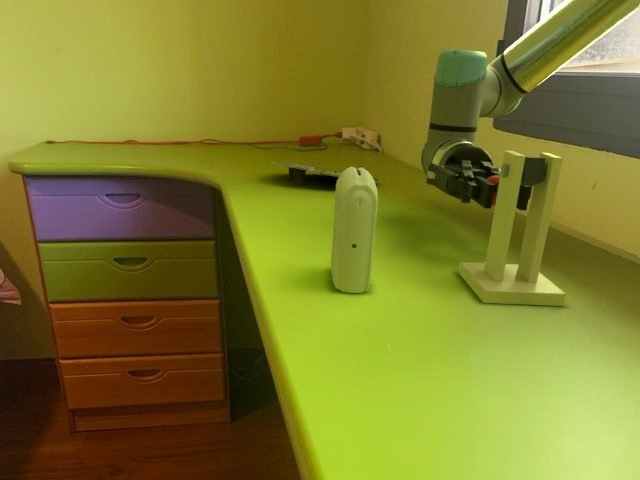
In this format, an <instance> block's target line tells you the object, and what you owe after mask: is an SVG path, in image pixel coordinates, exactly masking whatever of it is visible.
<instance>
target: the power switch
mask: <svg viewBox="0 0 640 480" xmlns="http://www.w3.org/2000/svg"><path fill="white" fill-rule="evenodd" d="M525 157H526V155H524V154H522V153H518V152H517V151H514V150H504V151H503V157H502V164H501V168H500V170H501V174H500V180H499V186H498V192H497V198H496V204H495V206H494V211H493V214H492V215H493V216H492V222H491V228H490V234H489V240H488V246H487V251H486V257H485V262H470V261H469V262H468V261H467V262H466V261H460V263H459V267H458V274H459V276H461V278H462V279H463V280H464V282H466V284H467V285H468V286H469V287H470V289H471V290H472V291H473V292H474V294H475V295H476V296H477V297H478V298H479V299H480V301H481V302H482V303H483V304H501V305H502V304H504V305H525V306H547V307H548V306H549V307H551V306H552V307H556V306H557V307H563V306H564V304H565V300H566V296H567V295H566V292H564V291H563V290H562V289H561V288H559V287H558V286H557V285H556V284H554V283H553V282H552V281H551V280H549V279H548V278H547V277H546V276H544V275H543V274H542V273H541V272H540V270H541V265H542V259H543V255H544V250H545V246H546V240H547V235H548V230H549V227H550V221H551V216H552V212H553V207H554V202H555V198H556V192H557V188H558V182H559V178H560V173H561V170H562V169H561V168H562V164H563V159H564V158H563V157H561V156H558V155H555V154H552V153H550V152H539V156H538V158H545V167H544V178H543V182H541V183H539V184H537V185H535V186H533V187H532V192H531V197H530V202H529V207H528V212H527V218H526V223H525V227H524V233H523V234H524V235H523V238H522V245H521V249H520V254H519V258H518V263H517V264H513V263H507V258H508V253H509V247H510V242H511V238H512V237H511V235H512V231H513V227H514V220H515V215H516V209H517V208H516V205H517V199H518V194H519V189H520V183H521V178H522V172H523V167H524V161H525Z"/></svg>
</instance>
